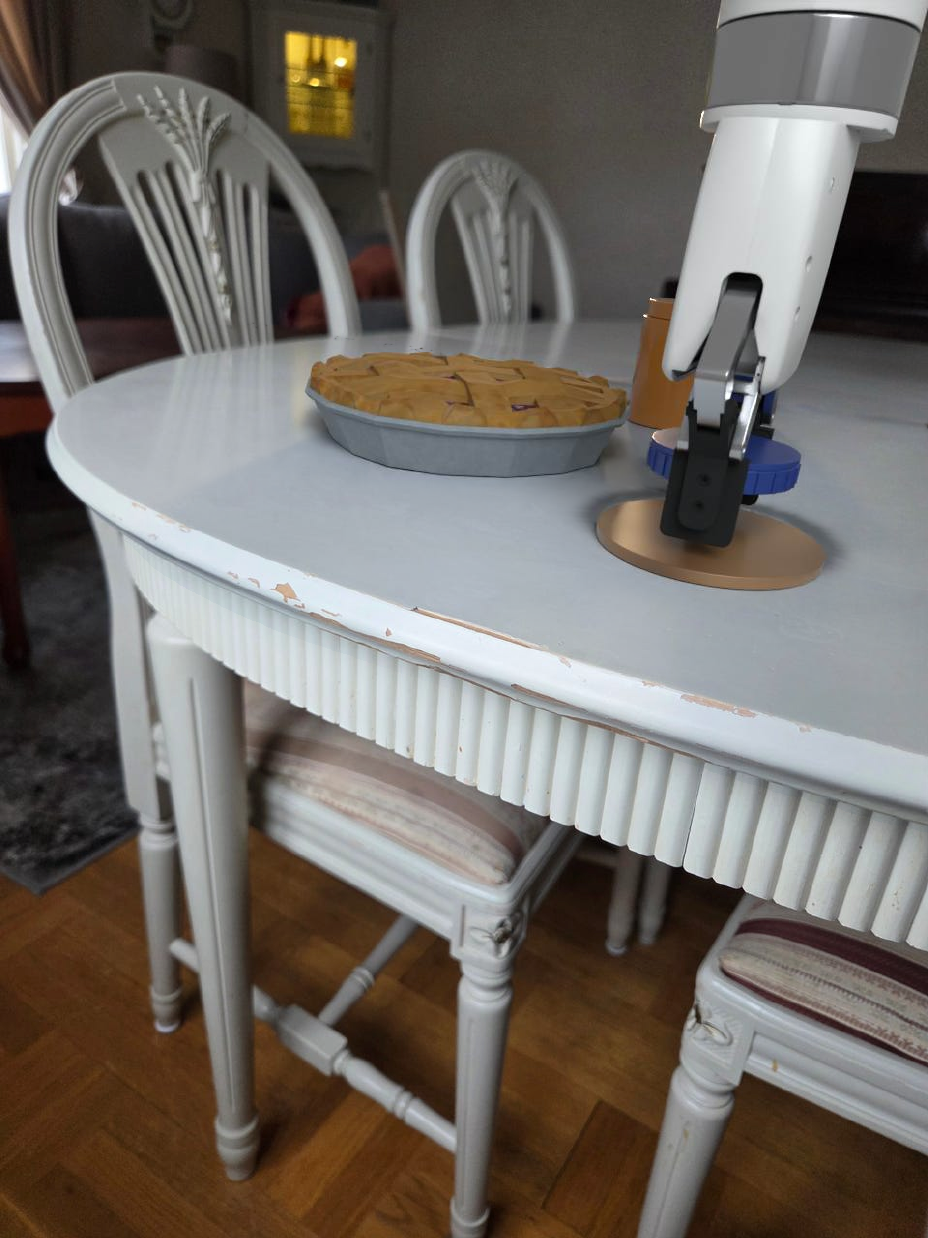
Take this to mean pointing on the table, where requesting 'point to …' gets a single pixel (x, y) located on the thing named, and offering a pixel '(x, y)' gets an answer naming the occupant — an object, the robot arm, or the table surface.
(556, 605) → the table surface
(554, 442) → the pie
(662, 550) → the coaster
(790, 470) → the lid
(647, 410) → the jar
